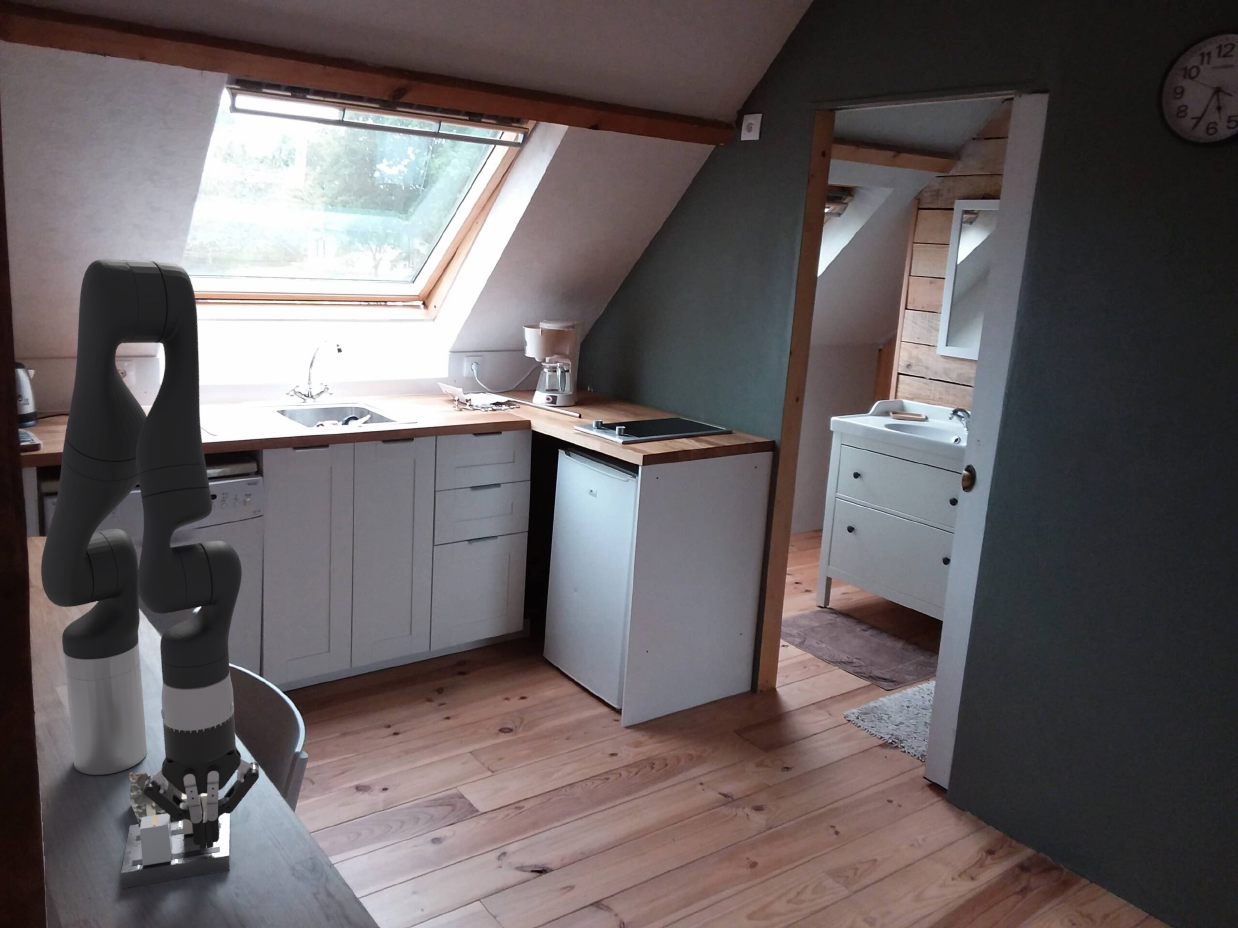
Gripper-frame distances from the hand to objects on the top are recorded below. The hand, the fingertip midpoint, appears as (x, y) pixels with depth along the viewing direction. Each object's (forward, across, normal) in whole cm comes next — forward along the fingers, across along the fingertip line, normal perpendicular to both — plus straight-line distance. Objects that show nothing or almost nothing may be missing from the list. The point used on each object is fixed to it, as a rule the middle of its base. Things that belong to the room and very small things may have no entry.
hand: (206, 844), depth 118 cm
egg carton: (+3, +6, -14) cm, 15 cm away
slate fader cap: (+1, +5, 0) cm, 5 cm away
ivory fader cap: (+1, +1, -5) cm, 5 cm away
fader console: (+3, +3, -3) cm, 6 cm away
